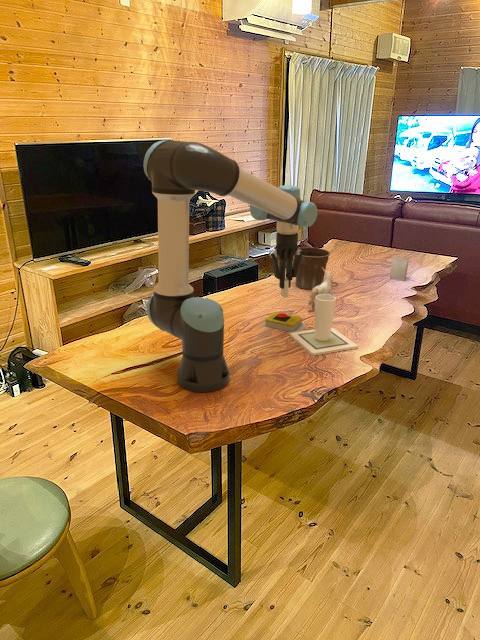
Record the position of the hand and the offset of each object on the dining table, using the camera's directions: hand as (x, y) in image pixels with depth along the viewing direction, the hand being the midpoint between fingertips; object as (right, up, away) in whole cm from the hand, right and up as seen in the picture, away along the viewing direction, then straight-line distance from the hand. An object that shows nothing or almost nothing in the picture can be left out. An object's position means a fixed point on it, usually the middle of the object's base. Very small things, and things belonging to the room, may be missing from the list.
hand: (284, 296), depth 177 cm
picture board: (+12, -16, -10) cm, 23 cm away
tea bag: (+60, +11, +58) cm, 84 cm away
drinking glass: (+12, -15, -10) cm, 22 cm away
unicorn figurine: (+15, -2, +24) cm, 28 cm away
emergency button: (0, -11, +3) cm, 12 cm away
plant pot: (+16, +7, +46) cm, 48 cm away
